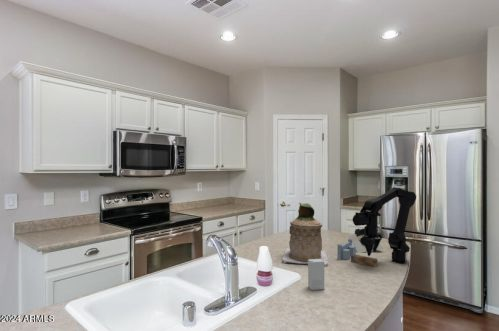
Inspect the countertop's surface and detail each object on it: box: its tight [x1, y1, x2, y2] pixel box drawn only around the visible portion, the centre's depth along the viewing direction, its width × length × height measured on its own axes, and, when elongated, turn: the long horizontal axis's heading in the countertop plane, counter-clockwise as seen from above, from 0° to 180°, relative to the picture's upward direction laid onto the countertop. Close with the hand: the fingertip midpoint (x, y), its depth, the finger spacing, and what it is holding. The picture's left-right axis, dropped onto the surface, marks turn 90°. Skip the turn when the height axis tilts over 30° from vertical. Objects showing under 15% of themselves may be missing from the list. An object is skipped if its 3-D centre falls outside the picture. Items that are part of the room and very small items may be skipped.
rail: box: [350, 254, 378, 268], centre depth 162 cm, size 13×4×4 cm, turn 51°
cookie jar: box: [281, 202, 329, 267], centre depth 171 cm, size 25×25×32 cm
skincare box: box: [307, 259, 325, 291], centre depth 129 cm, size 6×4×12 cm
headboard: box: [336, 237, 357, 261], centre depth 174 cm, size 5×18×9 cm, turn 141°
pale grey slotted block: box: [348, 234, 384, 254], centre depth 191 cm, size 16×9×15 cm
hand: (371, 253), depth 159 cm, fingers open, 9 cm apart
